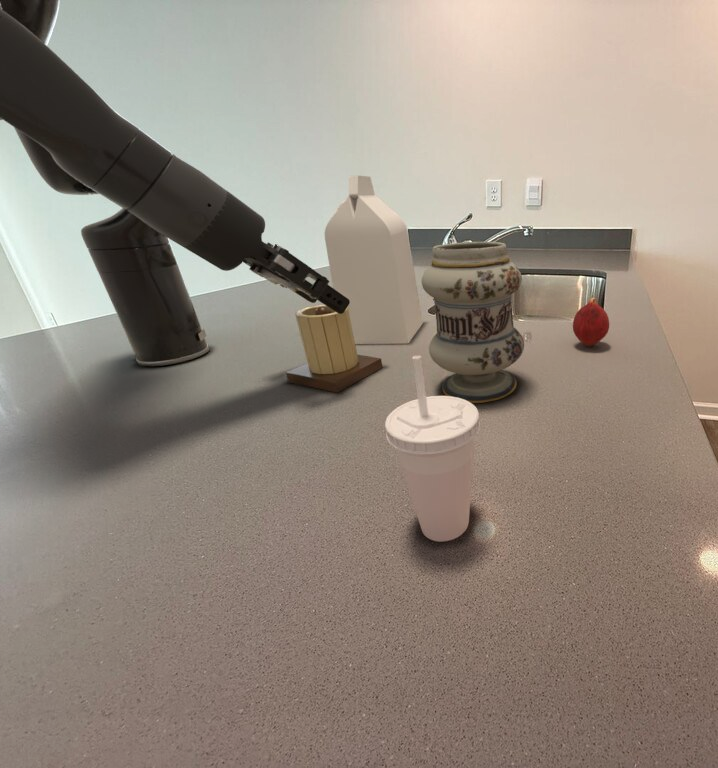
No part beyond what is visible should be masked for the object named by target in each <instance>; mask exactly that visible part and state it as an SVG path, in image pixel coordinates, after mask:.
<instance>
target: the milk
mask: <svg viewBox="0 0 718 768" xmlns="http://www.w3.org/2000/svg"><path fill="white" fill-rule="evenodd" d="M324 242H325V246H326V247H325V248H326V253H327V254H326V255H327V260H328V267H329V272H330V279H331V284H332V288H333V289H335V290H336V291H338V292H339V293H341V294H342V295H343V296H345V297H346V298H348V299H349V301H350V303H349V305H348V310H349V315H350V320H351V325H352V331H353V336H354V341H355V345H397V344H398V345H401V344H402V345H403V344H405V345H406V344H410V342H411V341H412V339H413V338H414V337H415V335H416V334H417V332H418V331H419V330H420V328H421V327H422V325H423V324H424V319H423V314H422V308H421V301H420V297H419V290H418V284H417V278H416V272H415V266H414V260H413V255H412V249H411V242H410V237H409V232H408V227H407V225H406V223H405V221H404V220H403V218H402V217H401V216H400V215H398V213H396V212H395V211H394V210H393V209H392V208H390V206H388V205H387V204H386V203H385V202H383V201H382V199H380V198H379V197H378V196H377V195H376V193H375V190H374V186H373V182H372V177H371V176H368V175H348V196H347V197H346V198H345V199H344V200H343V201H342V202H341V203H340V204H339V205H338V208H337V210H336V211H335V213H334V214H333V215H332V217H331V218H330V219H329V220H328V222H327V224H326V226H325V228H324Z"/></svg>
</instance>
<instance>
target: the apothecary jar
mask: <svg viewBox="0 0 718 768" xmlns="http://www.w3.org/2000/svg"><path fill="white" fill-rule="evenodd" d="M522 280H523V277H522V272H521V271H520V269H519V267H518V266H517V265H516V264H515V263H513V262H512V261H510V257H509V255H508V249H507V245H506V243H504V242H499V241H498V242H497V241H466V242H465V241H464V242H453V243H444V244H438V245H435V246H433V247H432V258H431V265H429V266H428V267H427V268H426V269H425V270H424V271H423V274H422V276H421V287H422V289H423V290H424V293H426V294H427V295H428V296H430V297H431V298H433V302H434V310H435V311H434V312H435V320H436V333H435V334H434V335H433V337H432V338H431V340H430V342H429V345H428V353H429V356H430V358H431V360H432V361H433V362H434V363H435V364H436V365H437V366H439V367H440V368H442V369H443V370H445V371H448V372H449V373H453V374H451V375H449V376H447V378H445V380H444V381H443V383H442V387H441V388H442V392H443V394H444V396H452V397H457V398H461V399H464V400H466V401H468V402H470V403H472V404H483V403H488V402H490V403H491V402H495V401H499V400H501V399H503V398H506V397H508V396H509V395H510V394H512V393H513V392H514V391H515V390H516V388H517V378H515V376H514V375H513V374H511V373H510V372H508V371H506V370H505V369H507V368H509V367H511V366H512V365H513V364H515V363H516V362H517V361H518V360H519V359H520V358H521V356H522V355H523V353H524V350H525V341H524V337H523V335H522V334H521V332H520V331H519V330H518V329H517V328H515V325H514V317H513V315H514V314H513V294H514V293H515V292H517V291H518V290H519V289H520V288H521V285H522Z"/></svg>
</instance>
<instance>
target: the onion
mask: <svg viewBox="0 0 718 768" xmlns="http://www.w3.org/2000/svg"><path fill="white" fill-rule="evenodd" d="M597 301H598V300H597V299H596V298H595V297H591V298H589V300H588V302H587V303H586V304H585V305H583V306H582V307H580V308H579V309H578V311H577V312H576V314H575V315H574V318H573V321H572V330H573V331H572V332H573V334H574V336H575V337H576V338H577V339H578V341H579V342H581V343H582V344H583V345H585V346H586V347H593V346H595V345H597V344H598V343H599V342H601V340H603V339H605V338H606V336H607V334H608V333H609V330H610V320H609V316H608V313H607V312H606V310H605V309H604V308H603V307H602V306H600V304H598V303H597Z"/></svg>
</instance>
